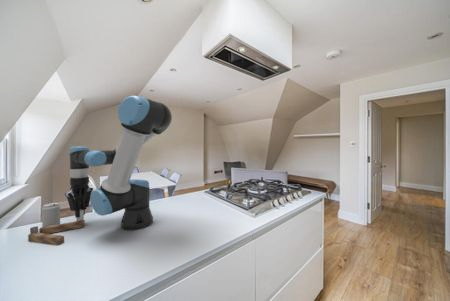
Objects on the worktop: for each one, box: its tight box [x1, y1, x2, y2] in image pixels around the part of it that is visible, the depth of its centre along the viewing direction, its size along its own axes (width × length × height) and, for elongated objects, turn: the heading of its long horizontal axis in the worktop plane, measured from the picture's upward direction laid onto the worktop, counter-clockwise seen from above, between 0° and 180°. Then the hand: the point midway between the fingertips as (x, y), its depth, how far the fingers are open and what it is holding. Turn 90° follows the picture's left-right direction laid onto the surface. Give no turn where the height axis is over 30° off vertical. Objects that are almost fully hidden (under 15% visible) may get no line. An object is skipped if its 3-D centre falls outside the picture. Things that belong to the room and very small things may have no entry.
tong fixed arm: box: [27, 225, 65, 246], centre depth 77 cm, size 19×4×4 cm, turn 79°
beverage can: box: [41, 202, 61, 227], centre depth 89 cm, size 6×6×12 cm
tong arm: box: [38, 219, 86, 234], centre depth 86 cm, size 16×2×3 cm, turn 124°
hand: (80, 222), depth 92 cm, fingers closed
